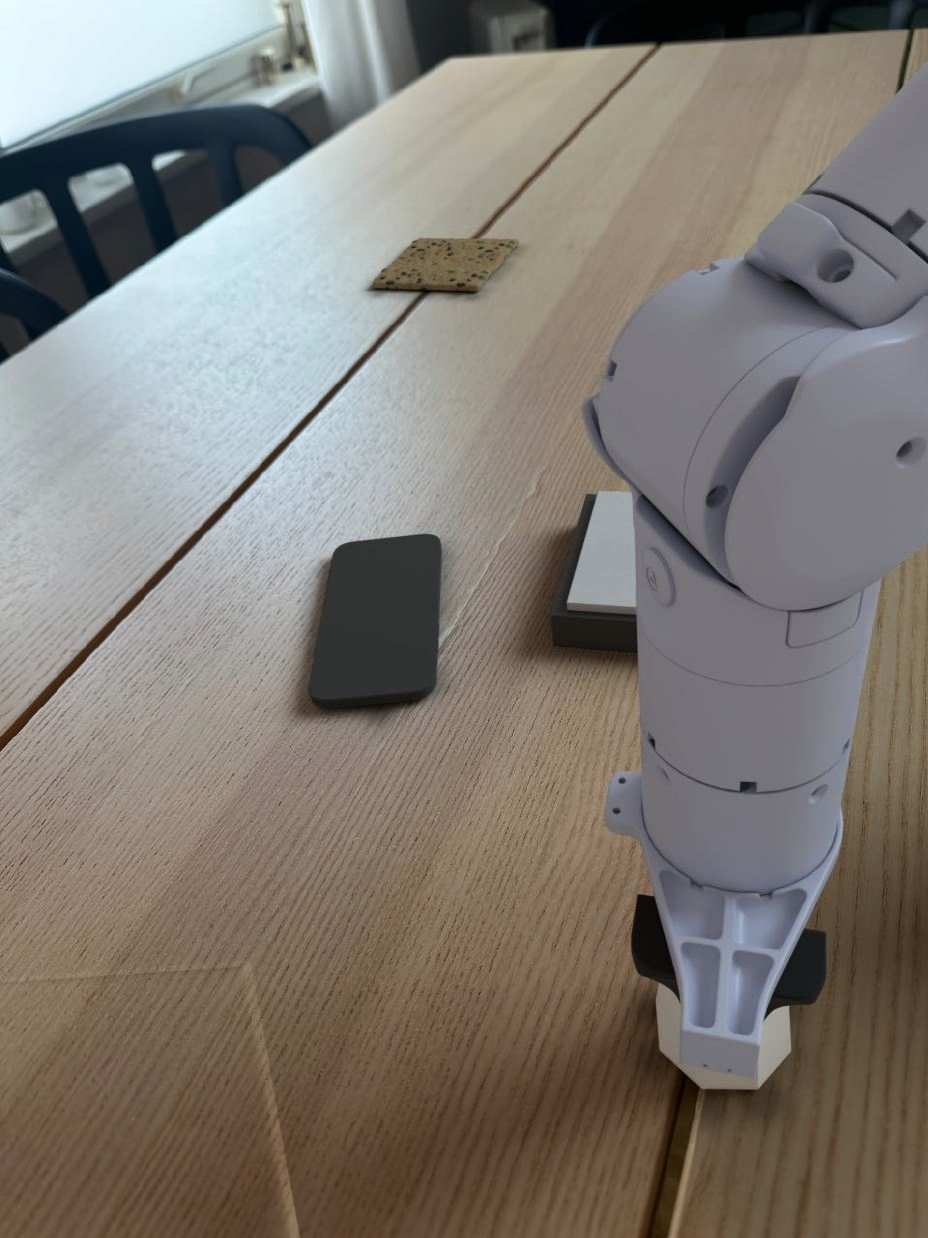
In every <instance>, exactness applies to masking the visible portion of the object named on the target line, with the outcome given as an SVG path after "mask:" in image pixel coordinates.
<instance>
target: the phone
mask: <svg viewBox="0 0 928 1238" xmlns="http://www.w3.org/2000/svg"><path fill="white" fill-rule="evenodd" d="M442 563H443V548H442V543H441V539H440V537H439V536H437V535H435V534H432V533H418V534H417V533H416V534H408V535H407V534H406V535H398V536H389V537H380V538H370V539H362V540H361V539H360V540H353V541H347V542H344V543H342V544H340V545H338V546H336V548H335V549H334V551H333V553H332V556H331V561H330V566H329V572H328V578H327V581H326V588H325V594H324V600H323V604H322V609H321V610H322V611H321V615H320V616H321V617H320V621H319V627H318V631H317V639H316V643H315V649H314V654H313V658H312V659H313V660H312V666H311V671H310V677H309V682H308V694H309V697H310V700H311V702H312V704H313V705H314V706H315V707H318V708H321V709H336V708H346V707H357V706H369V705H378V704H379V705H380V704H390V703H391V704H392V703H402V702H410V701H411V702H412V701H418V700H421V699H424V698H426V697H428V696H430V695H431V694H432V693H433V692H434V691H435V689H436V686H437V682H438V681H437V680H438V665H439V664H438V662H439V661H438V659H439V657H438V656H439V643H440V641H439V637H440V613H441V612H440V611H441V609H440V607H441V586H442V585H441V584H442Z"/></svg>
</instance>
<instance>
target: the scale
mask: <svg viewBox="0 0 928 1238" xmlns="http://www.w3.org/2000/svg"><path fill="white" fill-rule="evenodd" d="M560 577H561V578H560V580H559V585H558V588H557V592H556V595H555V598H554V600H553V601H554V602H553V605H552V608H551V612H550V614H549V615H550V625H551V626H550V627H551V634H552V644H553V646H559V647H570V648H582V649H583V648H584V649H595V650H606V651H608V650H609V651H618V652H631V653H638V641H637V612H636V565H635V530H634V525H633V500H632V493H631V491H616V490H615V491H611V490H598V491H597V493H586V494H585V496H584V501H583V503H582V507H581V510H580V514H579V517H578V521H577V523H576V528H575V530H574V533H573V537H572V541H571V543H570V547H569V551H568V554H567V557H566V561H565V564H564V567H563V571H562V574H561V576H560Z"/></svg>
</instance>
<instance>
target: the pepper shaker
mask: <svg viewBox="0 0 928 1238" xmlns="http://www.w3.org/2000/svg"><path fill="white" fill-rule="evenodd" d="M655 1009H656V1021H657V1023H656V1024H657V1033H658V1046H659V1052H661V1053H662V1054H663V1055H664V1056H665V1057H666V1058H667V1059H669V1060H670V1062H672V1063H673V1064H674V1066H676V1067H677V1068H678V1069H679V1070H681V1072H682V1073H684V1074H685V1075H686V1076H687V1077H688V1078H689V1079H690V1080H691V1081H692V1082H694V1083H695V1084H696V1085H697V1086H698V1087H699V1088H700V1089H701V1090H759V1089H760V1088H761V1087H762V1086H763V1085H764V1083H765V1082H766V1081H767V1080H768V1079H769V1077H770V1076H771V1075H772V1074H773V1073H774V1072H775V1071H776V1069H778V1067H779V1066H780V1065H781V1064H782V1063H783V1061H784V1060H785V1059H786V1058H787V1057H788V1056H789V1055H790V1053H791V1052H792V1039H791V1037H792V1036H791V1020H790V1017H791V1016H790V1006H784V1007H780V1008H777V1009H775V1010H774V1011H772V1012H771V1013H770V1014H769V1015H768V1017H767V1018H766V1019H765V1020H764V1021H763V1025H762V1033H761V1044H760V1052H759V1059H758V1067H757V1075H756V1077H755V1078H750V1077H745V1076H740V1075H735V1074H727V1073H722V1072H717V1071H712V1070H707V1069H704V1066H703V1068H700V1067H694V1066H689V1065H684V1064H681V1063H680V1061H679V1049H680V1018H681V1004H680V1002H679V1000H678V998H677V997H676V995H675V994H674V993H673V992H672V991H671V990H670V989H669V988H667V987H666V986H664V985H663V984H661V983H659V982H658V987H657V992H656V996H655ZM731 1069H732V1066H731Z"/></svg>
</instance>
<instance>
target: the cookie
mask: <svg viewBox="0 0 928 1238" xmlns="http://www.w3.org/2000/svg"><path fill="white" fill-rule="evenodd" d="M519 245H520V241H519V240H518V239H517V238H487V237H485V238H453V237H449V238H447V237H446V238H443V237H436V238H435V237H419V238H417V239H414V240H412V242H411V243H410V244H409V246H407V247H406V248H405V249H404V251H403V252H402V253H401V254H400V255H398V257H396V259H395V260H393V261H392V262H391V263H389V264H388V265H387V266H385V267H384V268H382V269H381V271H380V273H379V274H378V275H377V277H375V278H374V280H373V282H372V287H373V289H385V290H388V289H393V290H394V289H395V290H409V291H410V290H411V291H413V290H421V291H455V292H460V291H464V292H480V291H481V290H482V289H483V286H484V285H485V284H486V281H487V280H488V279H489V278H490V276H491V275H493V274H494V273H495V272H496V270H497V269H498V268H500V266H502V265H503V263H504V262H505V261H506V260H507V258H508V257H509V255H510V254H511V253H512V251H513V250H514V249H516V247H517V246H519Z"/></svg>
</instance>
